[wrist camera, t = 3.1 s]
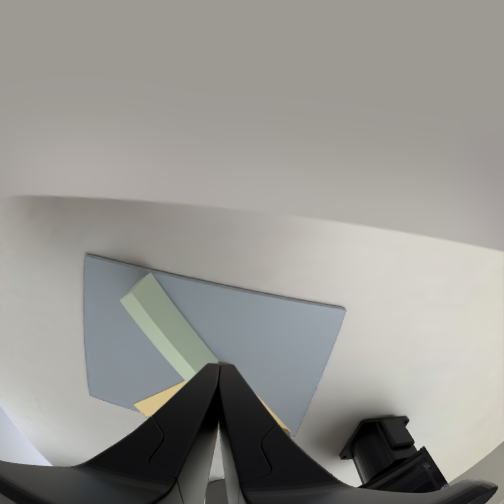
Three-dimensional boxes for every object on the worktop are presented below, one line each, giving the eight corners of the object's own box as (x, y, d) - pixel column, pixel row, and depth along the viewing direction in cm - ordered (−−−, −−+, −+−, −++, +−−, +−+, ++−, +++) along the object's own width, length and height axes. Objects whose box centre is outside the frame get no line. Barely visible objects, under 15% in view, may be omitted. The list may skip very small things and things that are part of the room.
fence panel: (218, 359, 21) (215, 392, 17) (207, 365, 21) (201, 398, 17) (151, 271, 19) (131, 291, 15) (139, 279, 19) (118, 300, 15)
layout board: (292, 434, 24) (293, 439, 24) (92, 394, 23) (89, 398, 22) (343, 307, 21) (346, 310, 21) (88, 254, 20) (84, 256, 19)
